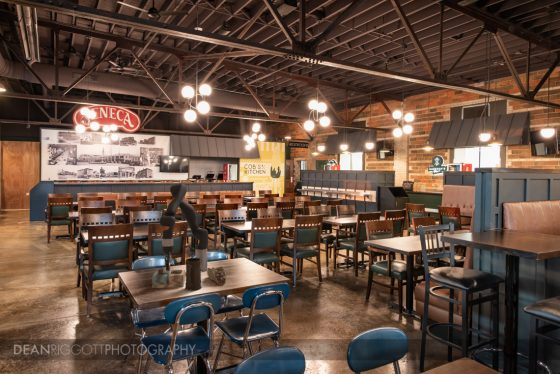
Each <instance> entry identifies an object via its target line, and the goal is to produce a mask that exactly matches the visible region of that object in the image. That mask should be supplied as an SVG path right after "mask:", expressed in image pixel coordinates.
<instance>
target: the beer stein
mask: <svg viewBox="0 0 560 374" xmlns="http://www.w3.org/2000/svg"><path fill="white" fill-rule="evenodd" d="M200 265H201V259H200V258H196V257H191V258H190V257H189V258H186V259H185V283H184V285H185V286H184V287H185V288H184V290H186V291H191V292H192V291H193V292H194V291H198V290H200V289H202V271H201V267H200Z"/></svg>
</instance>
